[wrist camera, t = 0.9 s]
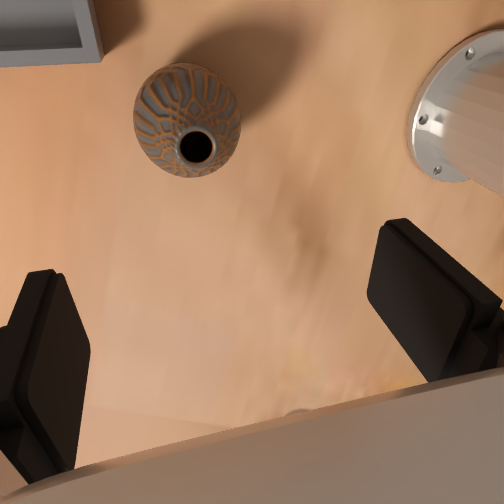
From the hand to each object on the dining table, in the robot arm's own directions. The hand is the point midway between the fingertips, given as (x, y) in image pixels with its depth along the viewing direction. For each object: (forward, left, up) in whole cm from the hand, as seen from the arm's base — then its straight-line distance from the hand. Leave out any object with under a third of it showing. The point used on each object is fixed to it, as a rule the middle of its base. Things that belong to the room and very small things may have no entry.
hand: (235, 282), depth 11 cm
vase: (0, 0, -21) cm, 21 cm away
